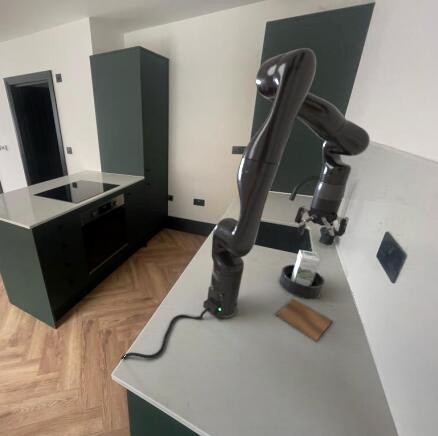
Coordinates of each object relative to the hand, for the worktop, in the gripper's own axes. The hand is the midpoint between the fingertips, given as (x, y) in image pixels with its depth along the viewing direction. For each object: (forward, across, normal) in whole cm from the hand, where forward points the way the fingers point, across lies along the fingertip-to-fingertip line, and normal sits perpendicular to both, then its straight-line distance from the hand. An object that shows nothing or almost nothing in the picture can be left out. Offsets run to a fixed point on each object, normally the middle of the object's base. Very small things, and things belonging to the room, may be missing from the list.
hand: (314, 239), depth 81 cm
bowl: (+21, 0, 0) cm, 21 cm away
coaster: (+21, +8, -15) cm, 27 cm away
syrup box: (+21, 0, 0) cm, 21 cm away
